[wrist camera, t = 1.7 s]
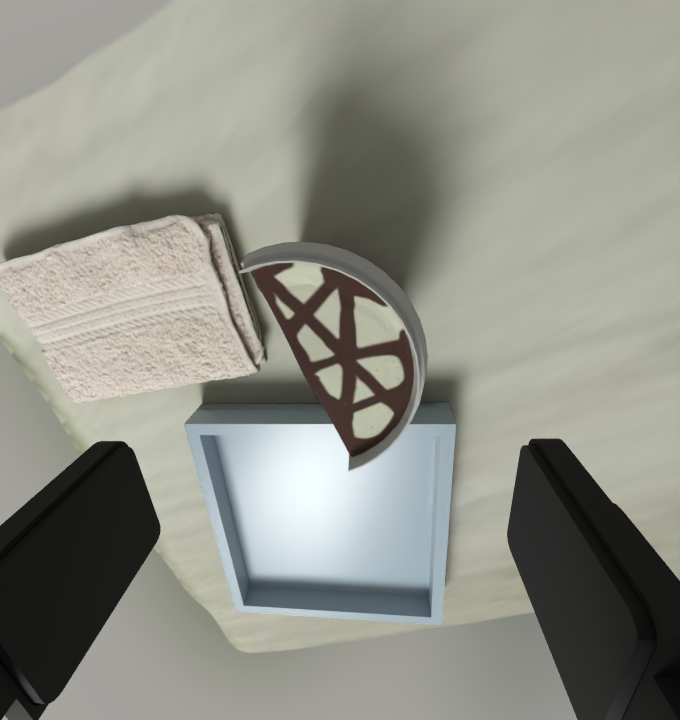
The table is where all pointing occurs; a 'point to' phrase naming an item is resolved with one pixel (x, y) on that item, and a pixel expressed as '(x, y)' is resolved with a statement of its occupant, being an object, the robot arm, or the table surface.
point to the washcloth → (139, 308)
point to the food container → (347, 339)
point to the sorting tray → (326, 512)
